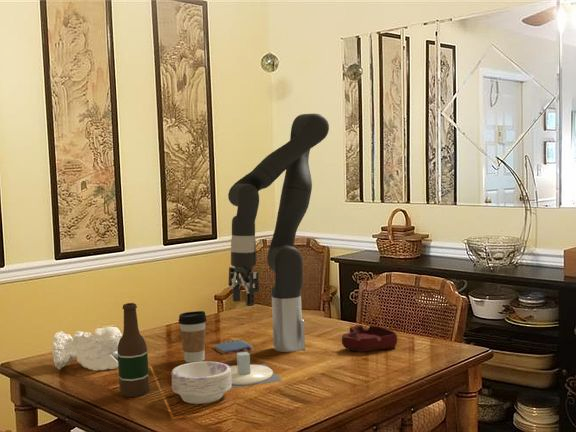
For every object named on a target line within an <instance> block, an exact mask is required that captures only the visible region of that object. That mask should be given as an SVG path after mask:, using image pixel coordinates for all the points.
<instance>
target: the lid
mask: <svg viewBox="0 0 576 432" xmlns="http://www.w3.org/2000/svg"><path fill="white" fill-rule="evenodd" d="M236 364H237V365H229V366H230V368H231V379H232V380H231V381H232V383H231V385H249V384H256V383H260V382H263V381H266V380H268V379H270V378H271V377H272V376H273V372H274V371H273V369H271V368H270V367H269V366H268V367H266V366H262V365H259V364H251V354H250V353H249V351H247V352H241V353H236ZM256 385H257V384H256ZM249 386H250V385H249Z"/></svg>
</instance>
